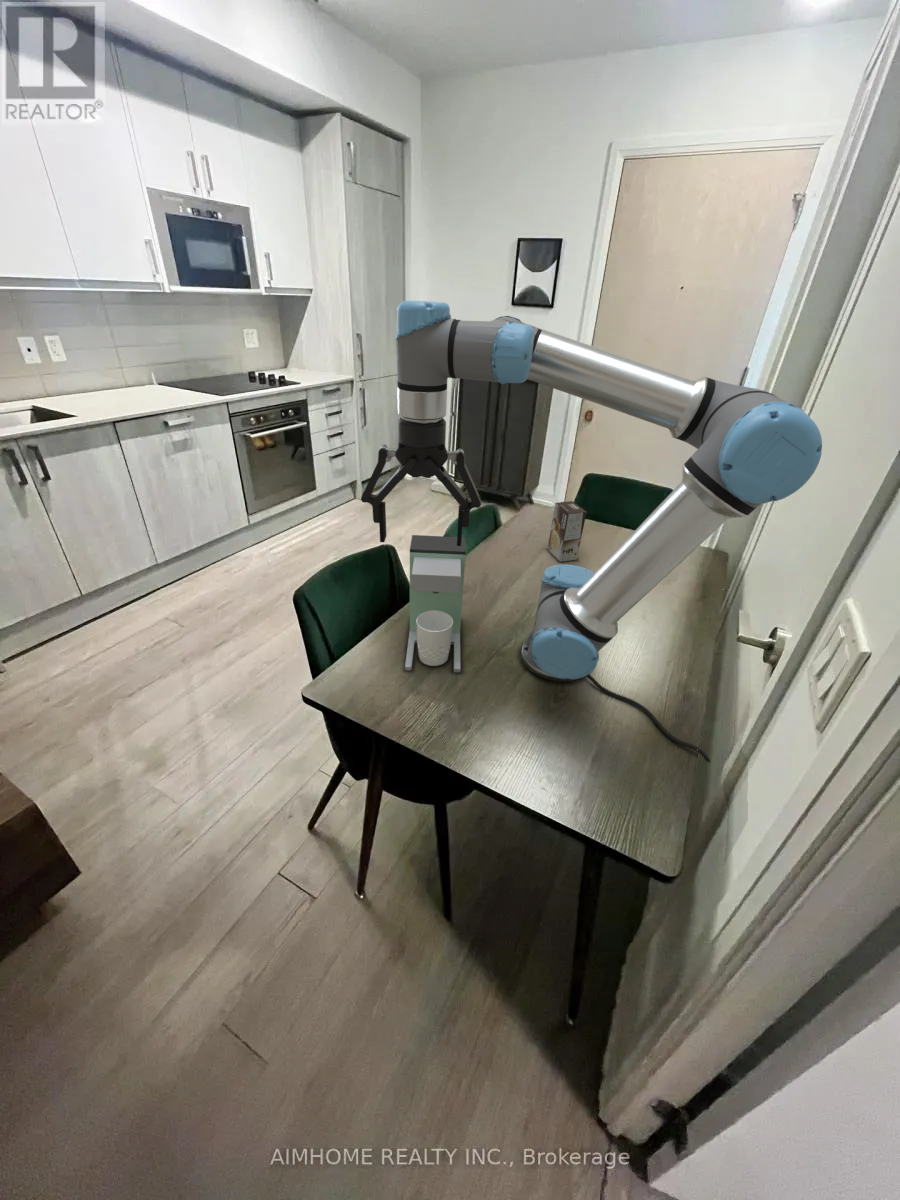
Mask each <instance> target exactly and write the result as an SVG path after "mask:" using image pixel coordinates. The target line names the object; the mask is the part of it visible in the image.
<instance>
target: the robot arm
mask: <svg viewBox="0 0 900 1200" xmlns="http://www.w3.org/2000/svg"><path fill="white" fill-rule="evenodd" d="M394 337H395V343H396V345H395V346H396V348H395V349H396V373H397V374H396V375H397V376H396V377H397V382H396V383H397V386H396V392H397V393H396V394H397V396H396V397H397V399H396V400H397V414H398V415H399V416H400V417H399V418H398V419H397V448H393V447H388V445H387V444H381V446H380V448H379V450H378V453H377V454H378V455H377V463H376V465H375V467H374V469H373V472H372V474H371V476H370V478H369V480H368V481H367V484H366V486H365V489H364V491H363V493H362V495H361V497H360V502H362V503H364V504H365V503H367V504H370V505H371V507H372V521H373V523H374V524H378V525H379V543H385V542H386V538H387V515H386V512H387V511H386V510H387V509H386V501H384V500H385V499H386V497H387V496H388V495H389V494H390V493H391V492H392V491H393V489H395V487H396V486H397V485H398V484H399V483H400V482H401V481H402V480H403V479H404V478H405V477H406V476H407V475H408V476H410V477H411V478H421V477H422V478H425V479H431V478H433V477H436V479H437V480H438V481H439V482H441V484H442V485H443V486H444V487H445V488H446V490H447V491H448V492H449V494H450V495H451V496H452V498H453V499H454V500H455V501H456V502H457V504H458V515H457V531H456V532H457V534H456V537H457V546H461V538H462V537H463V528H468V527H469V525H470V516H471V515H470V514H471V511H472V509H475V508H476V509H479V508H481V506H482V499H481V496H480V494H479V491H478V490H477V487H476V484H475V482H474V480H473V477H472V475H471V473H470V471H469V469H468V466H467V464H466V461H465V450H464V449H463V448H462V447H460V448H457V450H447V448H446V438H447V436H446V435H447V434H446V433H447V421H446V420H445V417H446V416H447V404H448V402H447V401H448V379H455V380H457V379H459V380H461V379H462V380H471V381H472V380H473V381H480V382H481V381H482V382H489V383H490V382H491V383H499V384H501V385H505V384H522V383H525V382H526V381H527V380H529V381H532V382H534V383H537V384H540V385H543V386H546V387H549V388H551V389H554V390H557V391H560V392H563V393H565V394H569V395H571V396H575V397H577V398H580V399H583V400H586V401H589V402H591V403H594V404H597V405H599V406H602V407H606V408H608V409H610V410H614V411H617V412H619V413H622V414H626V415H628V416H631V417H634V418H636V419H640V420H642V421H644V422H648V423H651V424H654V425H657V426H659V427H662V428H665V429H668V430H669V433H670V436H671V438H673V439H675V440H679V441H681V442H684V443H686V444H688V445H690V446H692V447H694V448H695V449H697V450H695V451H694V453H693V454H692V455H691V456H690V457H689V458H688V459H687V460H686V461H685V463H684V464H683V465H682V479H681V481H680V483H678V485H677V486H676V487H675V488H674V489H673V490H672V491H671V492H670V493H669V494H668V495H667V496H666V498H664V500H662V502H661V503H660V504H659V505H658V506H656V508H654V510H653V511H652V512H651V513H650V514H649V515H648V517H646V518H645V519H644V520H643V522H642V523H641V524H640V525H639V526H638V527H637V528H636V529H634V531H633V532H632V533H631V534H630V535H629V536H628V537H627V538H626V539H625V540H624V541H623V542H622V544H621V545H620V546H618V548H617V549H616V550H615V551H613V553H612V554H611V555H610V556H609V557H608V559H607V560H606V561H605V562H604V563H603V564H602V565H600V567H599V568H598V569H597V570H596V571H595V572H594V571H593V570H590V569H588V568H586V567H583V566H579V565H574V564H565V563H564V564H563V563H562V564H561V563H560V564H554V565H553V564H552V565H551V566H549V567H547V568H546V569H544V571H543V573H542V574H543V575H542V578H541V579H540V581H541V585H540V590H539V595H538V600H537V601H538V602H537V607H536V613H535V617H534V618H535V619H534V624H533V627H532V628H531V631H530V632H529V634H528V635H527V636H526V638H525V640H524V641H523V644H522V646H521V652H520V658H521V661H522V663H523V665H524V666H525V667H526V668H527V670H528V671H530V672H531V673H532V674H534V675H535V676H537V677H540V678H542V679H544V680H548V681H552V682H556V683H557V682H559V683H567V682H574V681H577V680H579V679H582V678H585V677H587V679H589V681H591V682H592V683H593V684H594V685H595V686H596V687H597V688H598V689H599V690H600V691H602V692H604V693H605V694H607V695H608V696H612V697H614V698H616V699H619V700H622V701H624V702H626V703H629V704H632V705H633V706H636V707H637V708H638V709H640V710H642V711H643V712H644V713H645V714H646V715H647V716H648V717H649V718H650V720H652V722H653V723H654V724H655V725H656V726H657V728H658V729H659V730H660V731H661V732H662V733H663V734H664V735H665V736H666V737H667V738H669V739H670V740H671V741H672V742H674V743H676V744H679V745H681V746H684V747H686V748H689V749H692V750H693V751H696V752H697V753H699V754H700V755H701V756H702V758H703V759H704V760H705V761H706V762H707V763H711V760H710V758H709V756H708V754H706V752H705V751H704V750H703V749H702V748H700V747H698V746H697V745H695V744H692V743H688V742H686V741H683V740H681V739H679V738H677V737H675V736H674V735H672V734H671V733H670V731H668V730H666V728H665V727H663V725H662V724H661V722H660V721H659V720H658V719H657V718H656V717H655V715H653V713H652V712H651V711H650V710H649V709H647V708H646V707H645V706H644V705H643V704H641V703H639V702H637V701H636V700H634V699H631V698H629V697H626V696H623V695H620V694H617V693H615V692H612V691H610V690H609V689H607V688H605V687H603V686H602V685H601V684H600V683H599V682H598V681H597V680H596V679H595V678H594V677H593V676H592V675H591V673H593V671H595V669H596V667H597V665H598V662H599V661H600V651H601V650H602V649H603V648H604V647H605V646H606V645H608V643H609V642H611V640H613V638H615V637H616V636H617V634H618V632H619V625H618V622H619V621H620V620H621V619H622V618H623V617H625V615H626V614H627V613H628V612H630V611H631V610H632V609H633V608H634V607H636V605H637V604H638V603H639V602H640V601H642V599H644V597H646V596H647V595H648V594H649V593H650V592H652V590H653V589H655V587H657V585H659V584H660V583H661V582H662V581H663V580H664V579H665V578H666V577H667V576H669V574H670V573H672V572H673V571H674V570H675V569H676V568H677V567H678V566H679V565H681V563H682V562H683V561H684V560H686V558H688V557H689V556H690V555H691V554H692V553H693V552H694V551H695V550H696V549H697V548H699V546H701V545H702V544H703V543H704V542H705V541H706V540H707V539H708V538H709V537H710V536H711V535H712V534H714V533H715V532H716V531H717V530H718V529H719V528H720V527H721V526H722V525H723V524H724V523H725V522H727V520H729V519H737V518H747V517H748V516H749V515H750V514H751V513H753V512H754V511H755V510H756V509H758V507H759V506H760V505H762V504H767V503H771V502H778V501H781V500H783V499H786V498H788V497H790V496H791V495H793V494H795V493H796V492H798V490H800V489H801V488H803V486H804V485H805V484H807V483H808V482H809V480H810V479H811V478H812V476H813V475H814V473H815V472H816V471H817V468H818V466H819V464H820V461H821V457H822V453H823V452H822V450H823V439H822V434H821V431H820V429H819V427H818V425H817V423H816V422H815V421H814V420H813V419H812V418H811V417H810V415H808V413H806V412H805V411H804V409H803V408H801V407H799V406H796V405H795V404H793V403H791V402H788V401H787V400H784V399H782V398H780V397H778V396H777V395H775V394H773V393H771V392H769V391H766V390H762V389H758V388H754V387H749V386H742V385H738V384H737V385H736V384H733V383H730V382H729V383H728V382H723V381H720V380H716V379H713V378H711V377H707V376H703V375H702V376H700V377H698V378H696V379H690V378H686V377H684V376H681V375H678V374H675V373H672V372H669V371H667V370H664V369H660V368H657V367H655V366H651V365H649V364H646V363H644V362H641V361H637V360H634V359H631V358H629V357H626V356H622V355H619V354H616V353H614V352H610V351H608V350H605V349H602V348H599V347H596V346H593V345H590V344H588V343H584V342H582V341H579V340H575V339H572V338H570V337H567V336H564V335H561V334H558V333H556V332H555V333H554V332H552V331H549V330H546V329H543V328H542V329H541V328H539V327H537V326H535V325H531V324H528V323H525V322H523V321H522V320H520V319H519V318H517V317H514V316H510V315H504V316H503V315H501V316H499V317H496V318H494V319H493V320H461V319H456V318H452V315H451V309H450V305H449V303H447V302H445V301H444V302H443V301H431V300H428V301H427V300H403V301H402V302H401V303H399V304H398V306H397V308H396V334H395V336H394ZM394 457H395V459H396V460H397V461H398V463H399V464H400V466H399V467H398V468H397V470H396V471H395V472H394V473H393V474H392V476H391V477H390V478H389V479H388V480H387V481H386V483H384V485H383V486H381V488H380V489H379V490H378V491H377V492H376V493H375V494H374V493H373V491H374V489H375V487H376V485H377V483H378V481H379V478H380V476H381V474H382V473H383V470H384V468H385V466H386V465H387V464H386V463H389V462H391V460H392V459H393V458H394ZM448 460H450V461H451V463H452V464H453V465H454V466H456V468H457V471H458V473H459V475H460V478H461V479H462V482H463V484H464V487H465V489H466V491H467V494H468V496H469V498H468V496H466V493H464V491H463V490H462V489H461V488H460V487H459V486H458V484H457V482H455V481H454V479H453V478H452V477H451V476H450V474H449V473H448V471H447V469H446V468H445V467H444V465H445V463H447V461H448ZM697 749H698V751H697Z"/></svg>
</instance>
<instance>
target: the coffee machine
mask: <svg viewBox="0 0 900 1200" xmlns="http://www.w3.org/2000/svg"><path fill="white" fill-rule="evenodd" d="M409 545H410V546H409V633H408V641H407V650H406V656H405V657H406V658H405V665H404V671H411V672H412V670H413V660H414V652H415V644H418V642H417V624H416V619H417V617H418V616H419V615H420V614H421V613H423V612H426V611H432V610H436V611H442V612H445V613H447V614H449V615H450V616H451V617H452V619H453V627H452V636H451V643H450V646H453V673H461V624H462V609H463V595H464V584H465V583H464V582H465V581H464V580H465V567H466V553H467V547H466V537H465V536H462V538H461V546H457V536H446V535H445V536H444V535H443V536H442V535H423V534H422V535H421V534H412V535H411V539H410V544H409Z"/></svg>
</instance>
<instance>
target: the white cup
mask: <svg viewBox="0 0 900 1200" xmlns="http://www.w3.org/2000/svg"><path fill="white" fill-rule="evenodd" d="M416 624H417V642H418V643H417V649H418V651H417V653H418V658H419V661H420V662H421V663H422V664H424V665H426V666H429V667H438V666H441V665H444V664H445V663H446V662H447V661H448V659H449V656H450V650H451V645H450V643H451V636H452V627H453V619H452V617H451V616H450V615H449V614H447V613H445V612H442V611H436V610H432V611H426V612H423V613H421V614H420V615H419V616H418V617H417V619H416Z"/></svg>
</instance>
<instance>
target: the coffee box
mask: <svg viewBox="0 0 900 1200" xmlns="http://www.w3.org/2000/svg"><path fill="white" fill-rule="evenodd" d="M587 513H588V512H587V511H586V510H585V509H584V508H582V507H581V506H579V504H577V503H575V502H574V501H572V500H568V501H561V502H555V503H554V508H553V513H552V518H551V525H550V532H549V537H548V544H547V550H548V551H549V553H551V555H552V556H553V557H554V558H556V560H557V561H559V562H567V561H568V562H571V561H577V559H578V557H579V556H578V555H579V550H580V546H581V542H582V536H583V531H584V527H585V522H586V517H587Z"/></svg>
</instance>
